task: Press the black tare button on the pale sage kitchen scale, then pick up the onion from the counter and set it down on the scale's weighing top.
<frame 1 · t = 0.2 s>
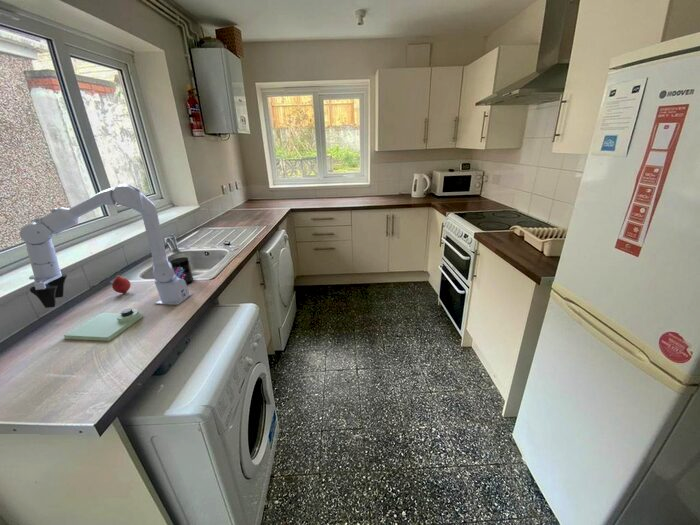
hand: (54, 301, 92), 10 cm above the worktop, tool pointing down, fingers open, 7 cm apart
supplement container: (186, 282, 126), on the worktop
onion: (124, 293, 119), on the worktop
tare button: (126, 312, 97), point 3 cm above the worktop, slide at 0.1 cm
scale: (105, 327, 96), on the worktop
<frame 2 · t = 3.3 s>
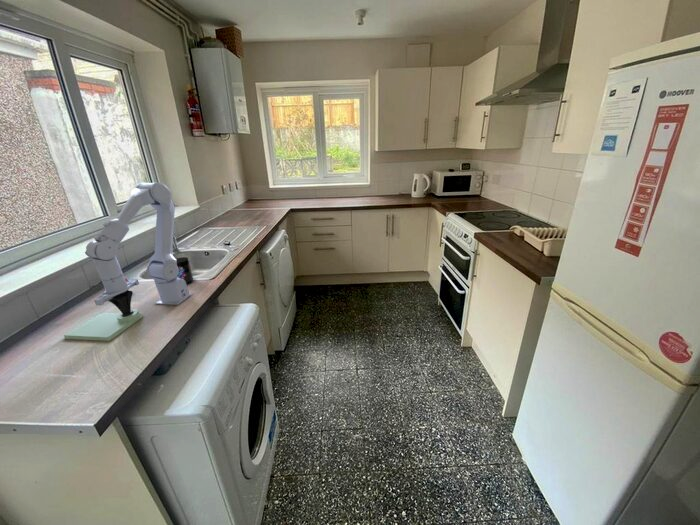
hand: (126, 312, 97), 3 cm above the worktop, tool pointing down, fingers closed, pressing on tare button
tare button: (127, 314, 97), point 3 cm above the worktop, slide at -0.6 cm, touching gripper
everything else where it was.
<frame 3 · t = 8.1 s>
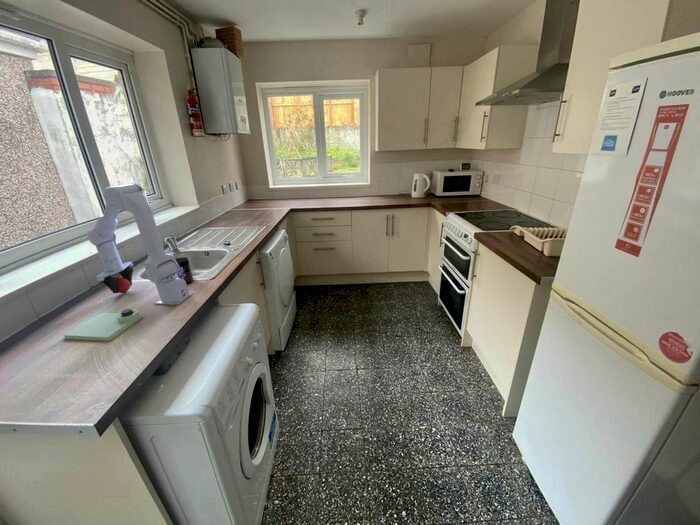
hand: (122, 289, 118), 2 cm above the worktop, tool pointing down, fingers closed on onion, 6 cm apart
onion: (124, 293, 119), on the worktop, touching gripper
tare button: (126, 312, 97), point 3 cm above the worktop, slide at 0.1 cm
everything else where it was.
when the fingers open (3 cm above the worktop, at t = 13.5 s): onion stays where it is, resting on scale.
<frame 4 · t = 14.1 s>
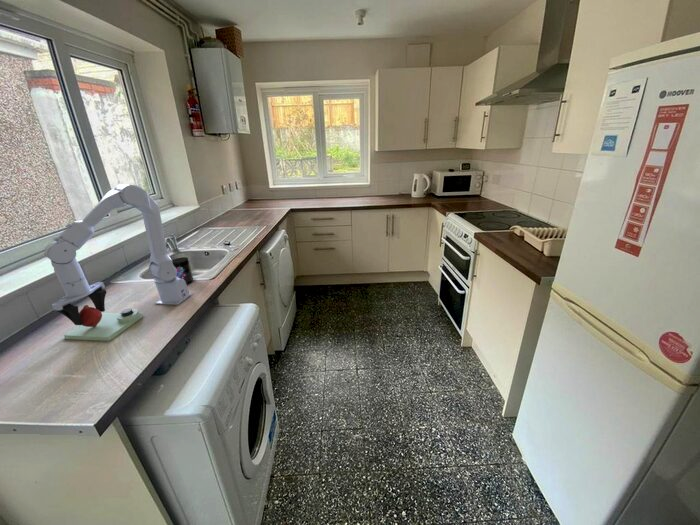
hand: (90, 317, 93), 5 cm above the worktop, tool pointing down, fingers open, 7 cm apart
onion: (94, 327, 94), point 1 cm above the worktop, touching scale
everything else where it was.
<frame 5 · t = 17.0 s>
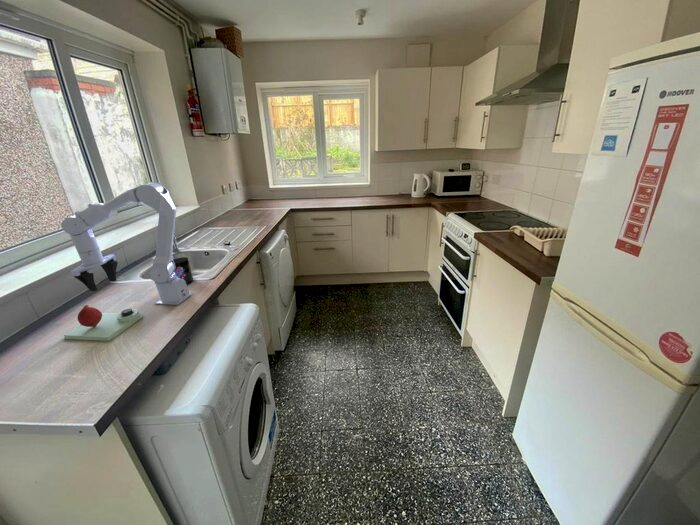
hand: (103, 285, 103), 10 cm above the worktop, tool pointing down, fingers open, 7 cm apart
nothing on the worktop moved.
at the end: tare button pushed in 1.0 cm at the most during the clip, back to where it started at the end; onion inside the target area on the scale (1.4 cm from its centre), point 1.2 cm above the scale's base; onion touching scale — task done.
